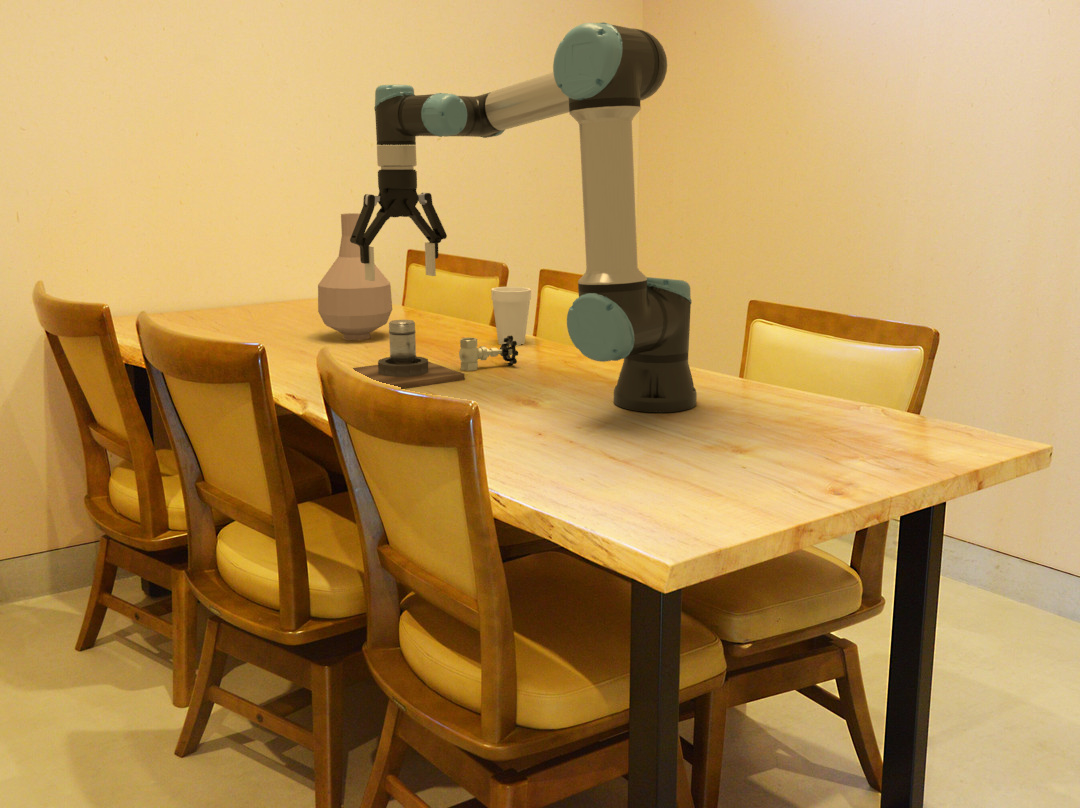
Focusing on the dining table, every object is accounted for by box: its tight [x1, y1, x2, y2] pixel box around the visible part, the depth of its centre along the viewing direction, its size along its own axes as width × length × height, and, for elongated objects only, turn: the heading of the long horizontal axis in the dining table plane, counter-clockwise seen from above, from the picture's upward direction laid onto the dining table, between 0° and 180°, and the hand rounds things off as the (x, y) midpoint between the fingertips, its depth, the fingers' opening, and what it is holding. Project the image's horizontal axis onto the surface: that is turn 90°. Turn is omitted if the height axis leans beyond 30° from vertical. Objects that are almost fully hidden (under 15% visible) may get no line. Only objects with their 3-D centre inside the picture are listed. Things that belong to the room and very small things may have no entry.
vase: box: [317, 212, 393, 341], centre depth 247 cm, size 18×18×30 cm
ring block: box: [352, 355, 466, 389], centre depth 208 cm, size 18×18×3 cm
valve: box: [458, 336, 519, 372], centre depth 217 cm, size 7×7×12 cm
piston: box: [388, 319, 417, 365], centre depth 206 cm, size 5×5×10 cm
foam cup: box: [491, 286, 532, 346], centre depth 243 cm, size 10×9×13 cm
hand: (400, 277), depth 203 cm, fingers open, 13 cm apart
